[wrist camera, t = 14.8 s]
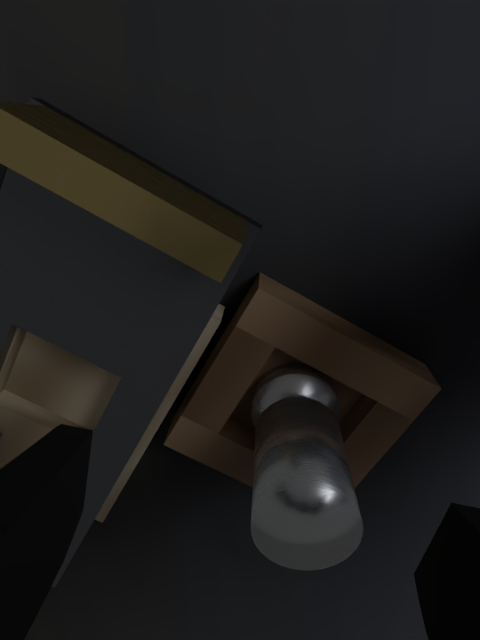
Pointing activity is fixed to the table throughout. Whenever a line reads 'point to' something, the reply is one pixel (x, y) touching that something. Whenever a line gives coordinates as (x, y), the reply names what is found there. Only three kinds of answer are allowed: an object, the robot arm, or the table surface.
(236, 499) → the table surface
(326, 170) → the table surface
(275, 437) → the steel peg
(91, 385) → the socket board
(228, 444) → the frame
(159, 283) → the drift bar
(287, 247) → the table surface
